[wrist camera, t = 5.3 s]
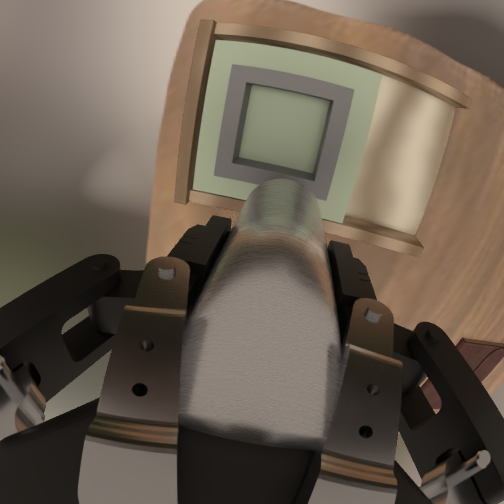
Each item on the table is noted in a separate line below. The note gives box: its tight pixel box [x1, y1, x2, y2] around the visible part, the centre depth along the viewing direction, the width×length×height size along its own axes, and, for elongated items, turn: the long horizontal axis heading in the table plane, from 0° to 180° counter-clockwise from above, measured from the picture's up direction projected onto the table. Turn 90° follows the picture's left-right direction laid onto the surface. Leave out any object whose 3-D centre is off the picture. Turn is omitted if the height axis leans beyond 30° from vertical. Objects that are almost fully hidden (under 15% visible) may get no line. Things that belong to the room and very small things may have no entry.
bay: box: [174, 20, 472, 258], centre depth 24 cm, size 26×18×5 cm
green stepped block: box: [193, 40, 382, 223], centre depth 22 cm, size 13×13×8 cm
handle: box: [179, 179, 342, 451], centre depth 10 cm, size 4×4×12 cm
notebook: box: [421, 338, 504, 409], centre depth 40 cm, size 15×20×2 cm
